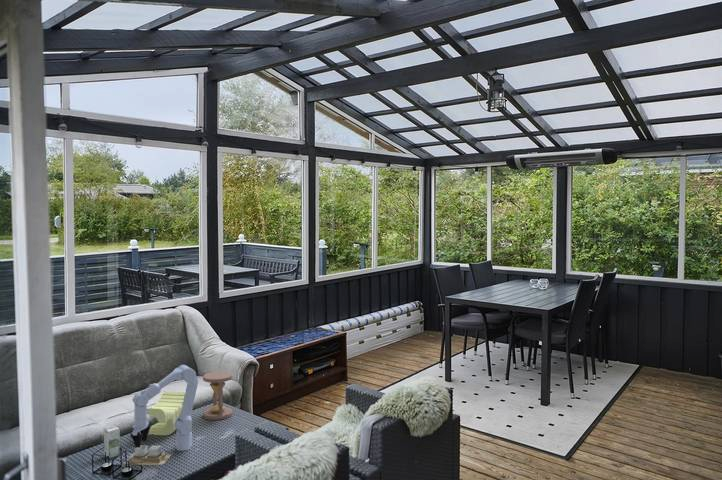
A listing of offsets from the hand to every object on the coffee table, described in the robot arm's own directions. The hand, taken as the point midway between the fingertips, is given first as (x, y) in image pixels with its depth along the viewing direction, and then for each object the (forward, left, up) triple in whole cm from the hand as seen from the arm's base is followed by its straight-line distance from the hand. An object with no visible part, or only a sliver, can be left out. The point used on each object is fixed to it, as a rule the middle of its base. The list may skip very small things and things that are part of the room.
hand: (141, 444), depth 278 cm
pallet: (0, +3, -9) cm, 9 cm away
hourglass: (-66, +19, -9) cm, 69 cm away
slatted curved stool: (-40, -4, -9) cm, 41 cm away
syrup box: (-5, -18, -9) cm, 20 cm away
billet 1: (0, 0, -8) cm, 8 cm away
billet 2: (0, +7, -8) cm, 10 cm away
